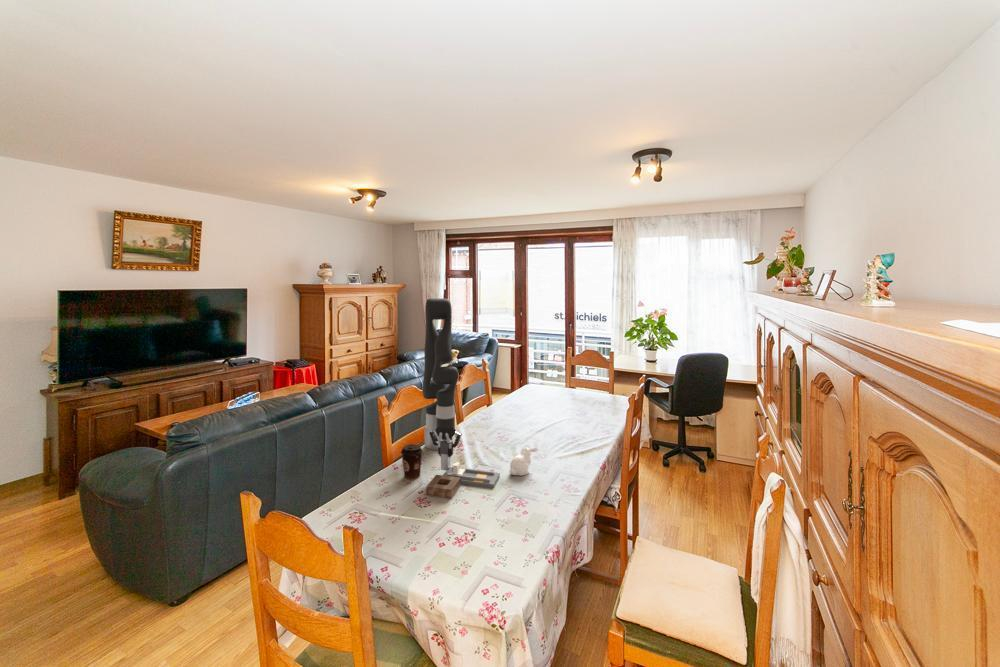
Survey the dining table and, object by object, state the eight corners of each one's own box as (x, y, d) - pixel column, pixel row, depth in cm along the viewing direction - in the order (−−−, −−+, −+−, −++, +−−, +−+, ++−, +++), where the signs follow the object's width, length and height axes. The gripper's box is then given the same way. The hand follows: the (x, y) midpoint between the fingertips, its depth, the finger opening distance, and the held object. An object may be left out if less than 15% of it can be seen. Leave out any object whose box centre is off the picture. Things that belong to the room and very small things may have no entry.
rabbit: (522, 465, 190) (523, 439, 188) (539, 472, 183) (540, 445, 182) (504, 474, 181) (504, 447, 179) (521, 481, 174) (521, 453, 173)
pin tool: (440, 470, 176) (440, 441, 175) (443, 466, 179) (443, 438, 178) (448, 471, 175) (447, 442, 174) (450, 467, 179) (450, 439, 177)
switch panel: (440, 482, 173) (440, 475, 173) (449, 471, 183) (449, 464, 182) (493, 489, 168) (493, 481, 167) (499, 477, 177) (499, 470, 177)
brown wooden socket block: (426, 496, 162) (426, 486, 161) (436, 484, 171) (436, 474, 171) (451, 499, 159) (451, 489, 159) (460, 487, 169) (460, 477, 168)
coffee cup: (403, 483, 172) (402, 452, 170) (399, 474, 179) (398, 444, 177) (424, 479, 175) (424, 449, 173) (420, 471, 183) (419, 441, 181)
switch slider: (452, 475, 174) (452, 466, 174) (456, 470, 179) (456, 461, 179) (461, 476, 173) (461, 467, 173) (465, 471, 178) (465, 462, 178)
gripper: (425, 416, 172) (426, 457, 175) (458, 419, 169) (458, 461, 171) (432, 411, 180) (433, 450, 182) (465, 414, 176) (464, 454, 179)
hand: (445, 455), depth 177 cm, fingers closed on pin tool, 3 cm apart
